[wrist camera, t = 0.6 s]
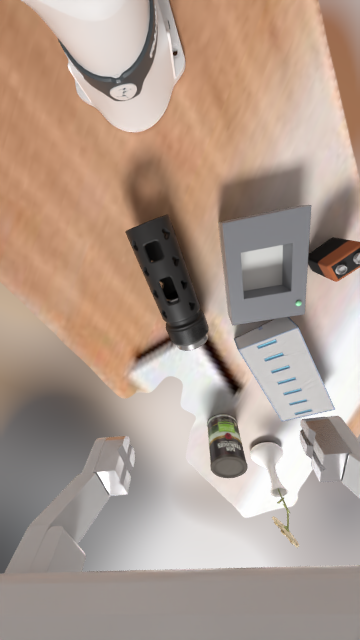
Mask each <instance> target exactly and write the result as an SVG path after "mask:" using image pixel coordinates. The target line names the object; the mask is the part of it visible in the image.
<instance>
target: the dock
mask: <svg viewBox="0 0 360 640" xmlns="http://www.w3.org/2000/svg"><path fill="white" fill-rule="evenodd" d="M310 219H311V205H305V206H294V207H290V208H285V209H280V210H275V211H271V212H266V213H261V214H256V215H251V216H247V217H242V218H237V219H232V220H227V221H223V222H218V225H219V234H220V243H221V253H222V262H223V271H224V281H225V290H226V299H227V309H228V315H229V318H230V320H231V323H232V325H238V324H245V323H251V322H258V321H264V320H271V319H277V318H284V317H290V316H297V315H303V314H305V299H306V283H307V267H308V251H309V235H310Z"/></svg>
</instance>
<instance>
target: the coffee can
mask: <svg viewBox="0 0 360 640" xmlns="http://www.w3.org/2000/svg"><path fill="white" fill-rule="evenodd" d="M207 427H208V437H209V449H210V460H211V471H212V472H213V473H214V474H215V475H217V476H219V477H223V478H234V477H238V476H240V475H242V474H244V473H245V472H246V470H247V463H246V460H245V456H244V451H243V447H242V443H241V438H240V434H239V429H238V425H237V421H236V419H235V418H234V417H232V416H230V415H226V414H220V415H216V416H213V417H212V418H211V419H209V421H208V423H207Z"/></svg>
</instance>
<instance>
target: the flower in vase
mask: <svg viewBox="0 0 360 640" xmlns="http://www.w3.org/2000/svg"><path fill="white" fill-rule="evenodd" d="M282 456H283V450H282V448H281V447H280V446H279V445H277V444H275V443H272V442H263V443H260V444H257V445H255V446H254V447H253V448H252V449H251V452H250V457H251V458H252V460H253V461H254V462H256V463H257V464H259V465H261V466H263V467H265V468H267V470H268V472H269V474H270V478H271V483H272V489H271V495H272V496H275V497H281V498H282V496H284V495H286V494H287V490H286V489H285V488H284V487H283V486H282V484H281V483H280V481H279V479H278V476H277V474H276V470H275V466H276V465H277V463H278V462H279V461H280V460H281V458H282ZM283 499H284V498H282V499H281V500H280V501H279V502H277V503H280V502H281V501H282V500H283ZM283 502H284V500H283ZM283 505H284V507H285V508H286V510H287V526H284V525H283V524H282V523H281V522H280V521H279V520H278V519H277V518H276V517H272V518H273V520H274V521H275V522H274V523H275V524H276V525H277V526H278V527H279V528H280V529H281V532H282V534H283V535H286V537H287V538H288V539H289V541H290V542H291V543H292V544H293V543H294V545H295V546H296V547H297V546H299V544H298V542H297V541H296V539H295V538H294V537H293V535H292V534H291V533H290V532H289V529H288V527H289V515H288V512H289V510H288V508H287V507H286V504H285V502H284V504H283ZM289 513H290V512H289Z"/></svg>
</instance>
